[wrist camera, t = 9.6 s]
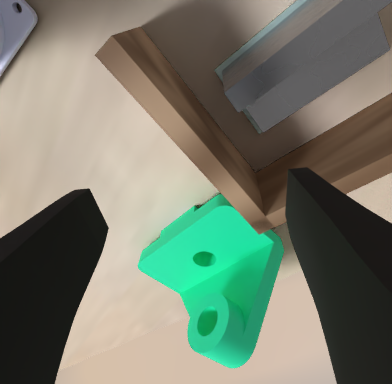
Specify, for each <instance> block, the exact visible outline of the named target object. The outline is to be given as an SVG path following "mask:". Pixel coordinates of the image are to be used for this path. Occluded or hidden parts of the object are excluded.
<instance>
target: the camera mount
mask: <svg viewBox="0 0 392 384" xmlns="http://www.w3.org/2000/svg"><path fill="white" fill-rule="evenodd" d="M283 253H284V248H283V245H282V241H281V238H280V237H279V236H278V235H277V234H275V233H274V232H273V231H272V230H271V229H270V230H268V231H266V232H264V233H262V234H260V235H259V234H258V233H257V232H256V231H255V230H254V229H253V228H252V227H251V225H250V224H249V223H248V222H247V221H246V220H245V219H244V218H243V217H242V216H241V214H240V213H239V212H238V211H237V210H236V209H235V208H234V207H233V206H232V205H231V204H230V202H229V201H228V200H227V199H226V198H225V197H224V196H223V195H222V194H219V195H217V196H215V197H214V198H212V199H211V200H210V201H208V202H207V203H206V204H204V205H203V206H202V207H200V208H199V209H198V208H197V207H196V206H193V207H192V208H191V209H189V210H188V211H187V212H185V213H184V214H183V215H181V216H180V217H179V218H178V219H176V220H175V221H174V222H172V223H171V224H170V225H168V226H167V227H166V228H164V229H163V230H162V231H161V235H160V238H159V239H157V240H156V241H155V242H153V243H152V244H151V245H149V246H148V247H147V248H145V249H144V250H143V251H142V253H141V256H140V260H139V263H138V268H139V270H140V271H142V272H143V273H145V274H147V275H148V276H150V277H152V278H154V279H155V280H157V281H159V282H160V283H162V284H164V285H165V286H167V287H169V288H171V289H172V290H174V291H176V292H177V293H179V294H180V296H181V298H182V300H183V302H184V305H185V307H186V309H187V311H188V314H189V316H190V320H189V324H188V341H189V344H190V346H191V348H192V349H193V350H194V351H195V352H198V353H199V354H202V355H204V356H206V357H208V358H210V359H212V360H214V361H216V362H218V363H220V364H222V365H224V366H226V367H229V368H237V367H240V366H242V365H243V364H245V363H246V362H247V361H248V360H249V358H250V357H251V355H252V353H253V351H254V349H255V346H256V343H257V340H258V336H259V333H260V329H261V326H262V323H263V319H264V316H265V313H266V310H267V306H268V303H269V300H270V297H271V293H272V290H273V287H274V283H275V280H276V277H277V273H278V270H279V267H280V263H281V260H282V257H283Z"/></svg>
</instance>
